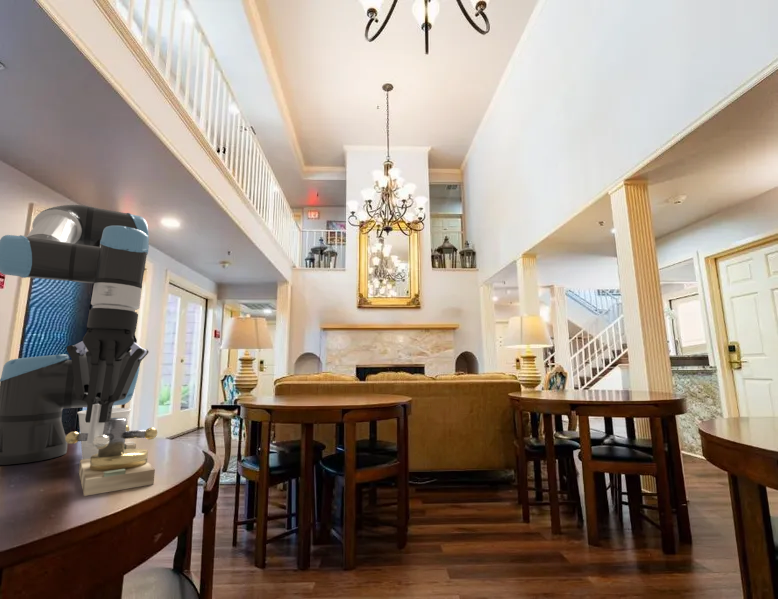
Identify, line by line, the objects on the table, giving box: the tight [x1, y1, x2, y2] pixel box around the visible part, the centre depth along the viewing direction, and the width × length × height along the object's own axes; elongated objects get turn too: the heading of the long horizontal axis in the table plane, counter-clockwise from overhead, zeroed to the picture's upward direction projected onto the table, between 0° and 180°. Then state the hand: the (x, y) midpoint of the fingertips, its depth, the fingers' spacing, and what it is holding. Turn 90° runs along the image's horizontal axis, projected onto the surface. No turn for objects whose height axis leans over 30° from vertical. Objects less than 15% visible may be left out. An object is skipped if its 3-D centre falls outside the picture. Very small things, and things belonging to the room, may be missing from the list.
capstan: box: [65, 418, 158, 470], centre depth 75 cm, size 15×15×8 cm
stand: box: [78, 441, 156, 497], centre depth 76 cm, size 18×10×5 cm, turn 40°
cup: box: [76, 407, 132, 459], centre depth 89 cm, size 10×10×11 cm
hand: (94, 441), depth 70 cm, fingers closed
